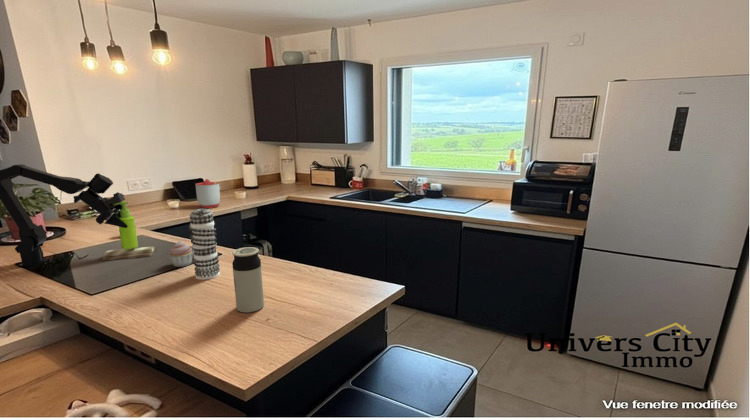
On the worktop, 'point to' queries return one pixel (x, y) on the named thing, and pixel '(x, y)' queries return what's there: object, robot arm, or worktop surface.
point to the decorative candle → (204, 244)
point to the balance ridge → (128, 253)
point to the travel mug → (248, 279)
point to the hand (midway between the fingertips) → (129, 225)
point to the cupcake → (181, 254)
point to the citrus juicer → (208, 194)
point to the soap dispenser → (128, 233)
